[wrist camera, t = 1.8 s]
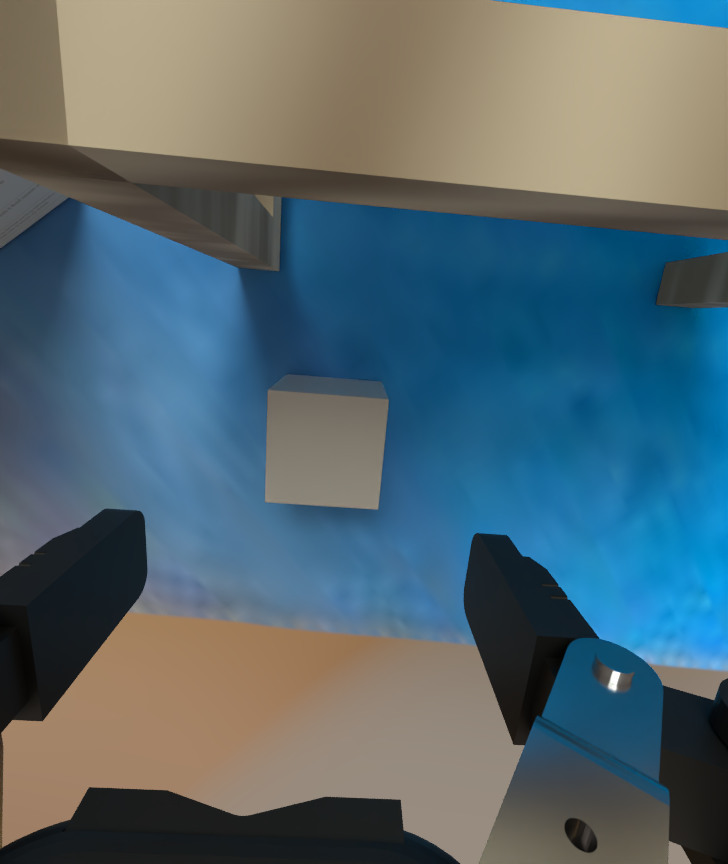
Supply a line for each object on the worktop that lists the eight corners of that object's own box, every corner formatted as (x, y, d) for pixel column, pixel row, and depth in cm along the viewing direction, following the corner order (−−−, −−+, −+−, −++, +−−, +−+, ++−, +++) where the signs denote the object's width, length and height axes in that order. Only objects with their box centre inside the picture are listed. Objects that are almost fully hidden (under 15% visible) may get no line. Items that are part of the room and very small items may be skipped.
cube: (283, 464, 24) (265, 501, 19) (286, 373, 22) (267, 389, 18) (373, 470, 24) (378, 509, 19) (381, 381, 23) (389, 399, 18)
